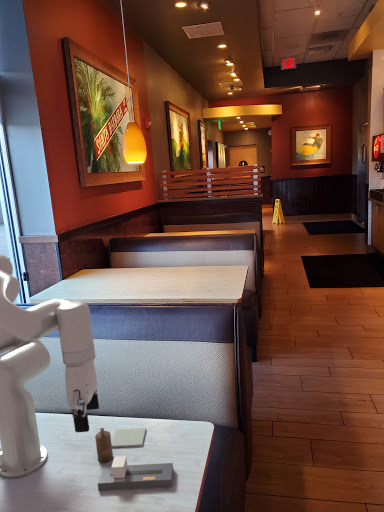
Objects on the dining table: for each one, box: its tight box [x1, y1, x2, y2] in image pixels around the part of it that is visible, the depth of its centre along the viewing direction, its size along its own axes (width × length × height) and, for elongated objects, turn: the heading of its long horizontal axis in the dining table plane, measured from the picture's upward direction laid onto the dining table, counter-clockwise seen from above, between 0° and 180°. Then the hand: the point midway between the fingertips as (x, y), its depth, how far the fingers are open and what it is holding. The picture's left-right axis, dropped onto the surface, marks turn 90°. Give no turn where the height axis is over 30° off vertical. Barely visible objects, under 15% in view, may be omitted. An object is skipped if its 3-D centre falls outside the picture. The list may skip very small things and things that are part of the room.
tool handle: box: [94, 427, 114, 464], centre depth 110 cm, size 4×4×9 cm
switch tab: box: [111, 455, 128, 478], centre depth 101 cm, size 3×4×3 cm
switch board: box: [97, 462, 174, 492], centre depth 101 cm, size 18×6×2 cm, turn 89°
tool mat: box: [111, 427, 147, 449], centre depth 119 cm, size 9×8×1 cm
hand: (87, 419), depth 99 cm, fingers open, 9 cm apart
